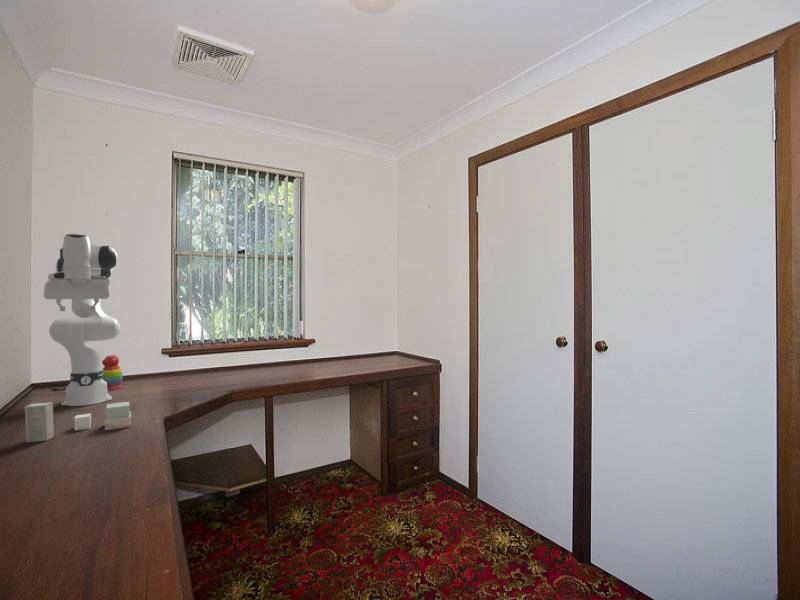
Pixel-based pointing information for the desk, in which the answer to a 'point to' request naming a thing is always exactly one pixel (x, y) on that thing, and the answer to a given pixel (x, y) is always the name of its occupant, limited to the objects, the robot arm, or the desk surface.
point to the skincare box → (39, 422)
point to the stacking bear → (112, 373)
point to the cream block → (82, 421)
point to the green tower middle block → (117, 410)
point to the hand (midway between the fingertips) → (78, 310)
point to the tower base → (118, 422)
